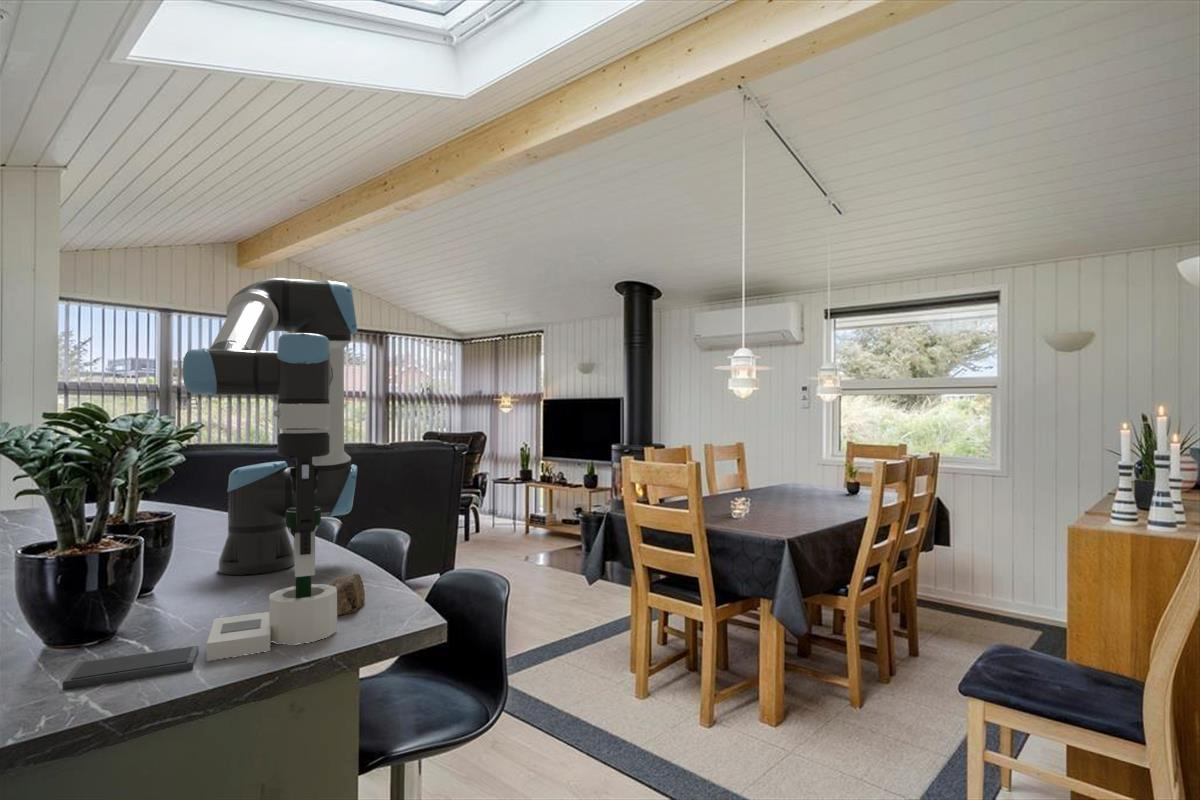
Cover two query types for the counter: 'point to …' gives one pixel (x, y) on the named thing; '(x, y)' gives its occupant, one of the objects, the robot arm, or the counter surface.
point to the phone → (131, 667)
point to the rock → (349, 593)
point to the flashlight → (305, 581)
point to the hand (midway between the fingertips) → (303, 565)
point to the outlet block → (276, 623)
